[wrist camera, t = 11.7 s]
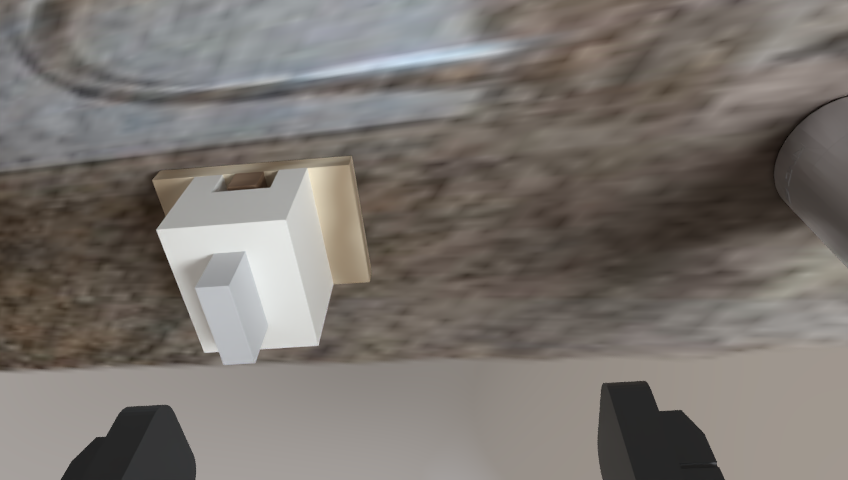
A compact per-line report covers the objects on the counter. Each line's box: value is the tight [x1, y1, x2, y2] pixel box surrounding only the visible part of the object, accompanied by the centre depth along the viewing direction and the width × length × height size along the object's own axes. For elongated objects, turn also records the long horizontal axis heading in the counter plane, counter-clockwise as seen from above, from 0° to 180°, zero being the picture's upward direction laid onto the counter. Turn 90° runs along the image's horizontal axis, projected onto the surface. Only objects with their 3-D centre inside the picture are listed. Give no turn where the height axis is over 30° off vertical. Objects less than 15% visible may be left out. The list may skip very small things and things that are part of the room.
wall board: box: [152, 156, 372, 284], centre depth 45 cm, size 14×10×4 cm
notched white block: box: [156, 168, 333, 365], centre depth 41 cm, size 8×10×10 cm
